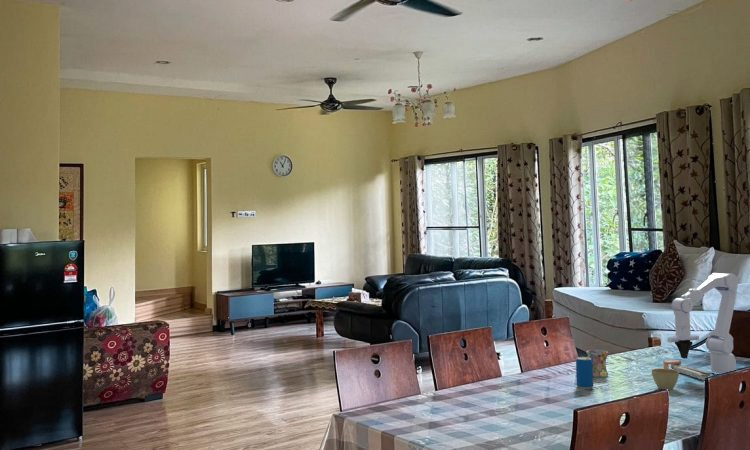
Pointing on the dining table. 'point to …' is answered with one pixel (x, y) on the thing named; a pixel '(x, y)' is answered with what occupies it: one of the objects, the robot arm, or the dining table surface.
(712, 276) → the robot arm
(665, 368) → the sleeve
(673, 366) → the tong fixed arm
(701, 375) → the tong jaw
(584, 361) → the beverage can
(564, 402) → the dining table surface
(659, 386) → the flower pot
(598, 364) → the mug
